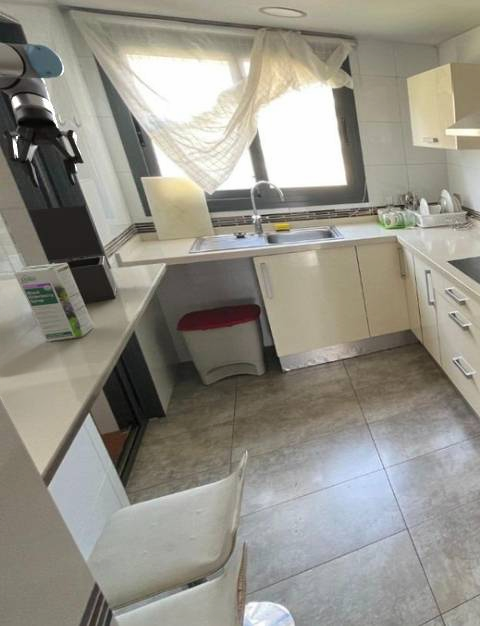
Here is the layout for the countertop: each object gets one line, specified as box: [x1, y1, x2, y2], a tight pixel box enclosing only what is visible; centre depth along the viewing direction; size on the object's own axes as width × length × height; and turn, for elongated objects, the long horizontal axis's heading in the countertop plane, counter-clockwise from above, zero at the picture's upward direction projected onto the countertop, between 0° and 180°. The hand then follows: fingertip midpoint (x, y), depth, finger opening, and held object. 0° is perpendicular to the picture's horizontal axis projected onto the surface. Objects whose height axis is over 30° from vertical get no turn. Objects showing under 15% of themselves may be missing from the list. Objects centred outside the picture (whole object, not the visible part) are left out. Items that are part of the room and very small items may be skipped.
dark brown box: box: [48, 255, 117, 304], centre depth 114 cm, size 12×10×9 cm
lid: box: [27, 205, 105, 262], centre depth 115 cm, size 12×10×1 cm
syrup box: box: [14, 263, 94, 343], centre depth 91 cm, size 6×6×14 cm
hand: (53, 182), depth 119 cm, fingers open, 6 cm apart
